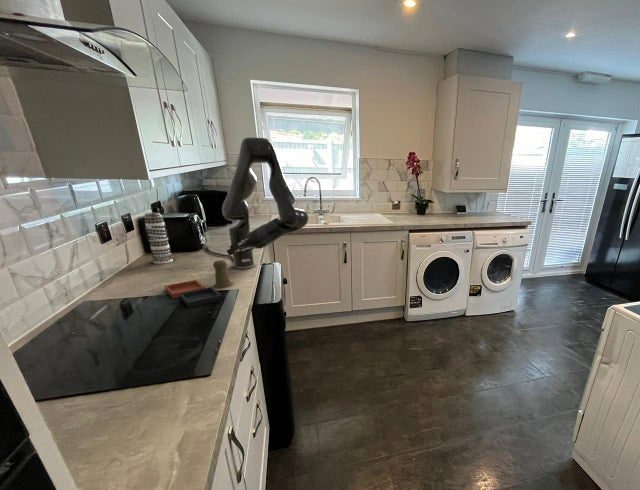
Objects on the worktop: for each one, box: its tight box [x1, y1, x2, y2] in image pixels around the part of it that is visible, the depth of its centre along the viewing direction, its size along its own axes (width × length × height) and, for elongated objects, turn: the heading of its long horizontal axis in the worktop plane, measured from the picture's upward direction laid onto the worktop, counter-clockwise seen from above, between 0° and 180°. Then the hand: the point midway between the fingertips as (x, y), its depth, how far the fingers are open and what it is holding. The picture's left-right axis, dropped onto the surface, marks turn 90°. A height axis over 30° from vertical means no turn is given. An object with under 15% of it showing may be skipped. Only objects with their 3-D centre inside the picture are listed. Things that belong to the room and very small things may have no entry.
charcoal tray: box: [179, 286, 223, 309], centre depth 126 cm, size 12×12×2 cm
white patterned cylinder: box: [143, 212, 174, 265], centre depth 165 cm, size 9×9×25 cm
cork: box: [212, 260, 232, 289], centre depth 139 cm, size 6×6×11 cm
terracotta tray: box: [164, 279, 206, 299], centre depth 133 cm, size 12×12×2 cm
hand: (236, 251), depth 134 cm, fingers open, 8 cm apart
